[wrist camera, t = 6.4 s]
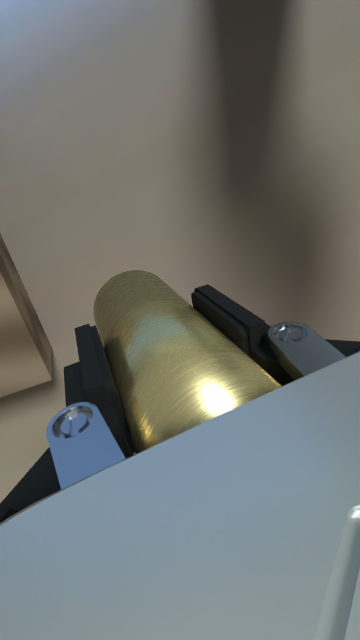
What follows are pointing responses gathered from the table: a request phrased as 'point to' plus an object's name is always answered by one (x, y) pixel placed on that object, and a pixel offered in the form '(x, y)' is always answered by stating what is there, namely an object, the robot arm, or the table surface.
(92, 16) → the table surface
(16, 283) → the bore block
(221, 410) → the brass pin
